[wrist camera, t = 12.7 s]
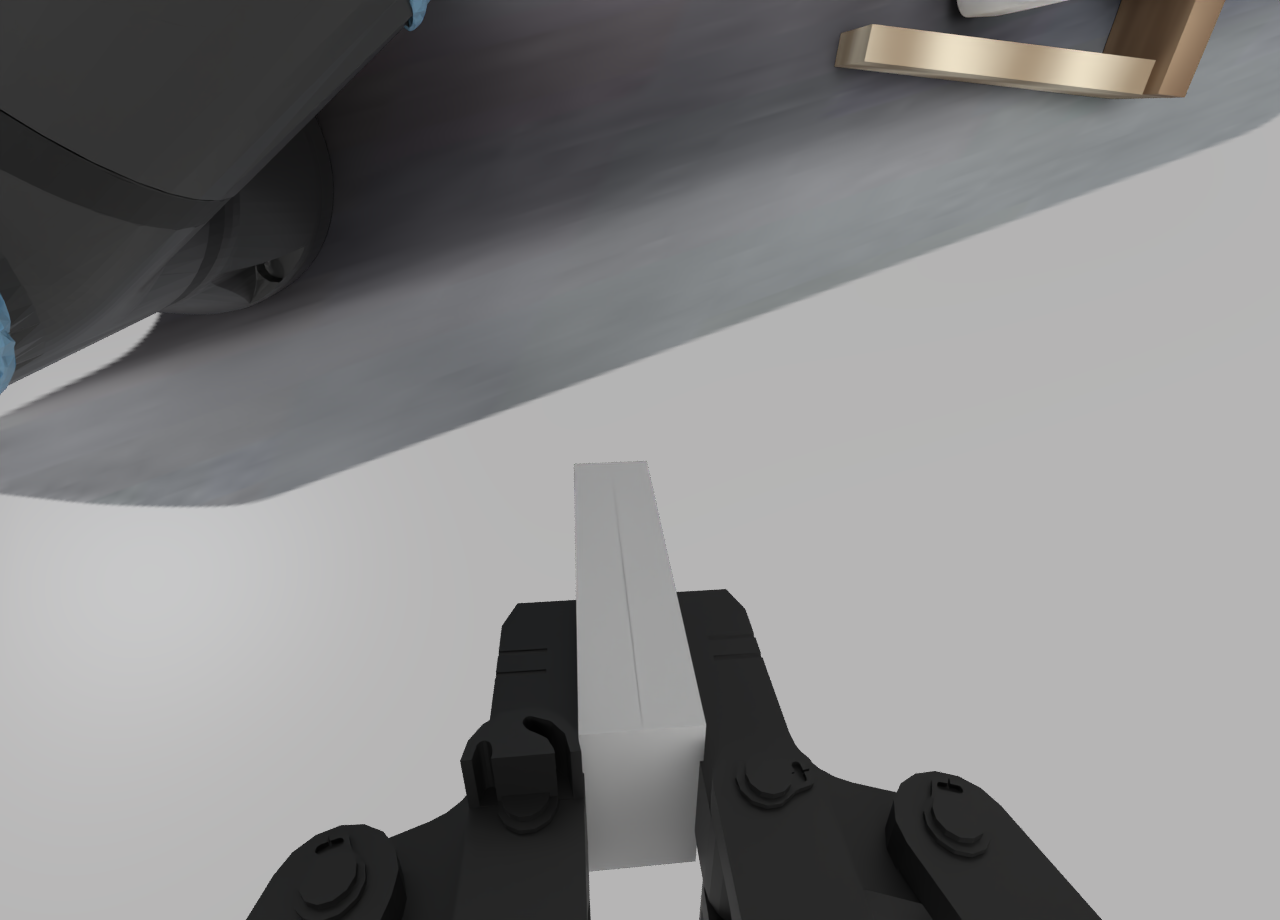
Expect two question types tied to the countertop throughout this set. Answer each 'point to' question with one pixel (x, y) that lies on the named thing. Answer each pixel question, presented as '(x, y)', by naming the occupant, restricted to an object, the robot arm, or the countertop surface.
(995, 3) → the cable organizer
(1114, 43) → the wooden tray
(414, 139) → the countertop surface
